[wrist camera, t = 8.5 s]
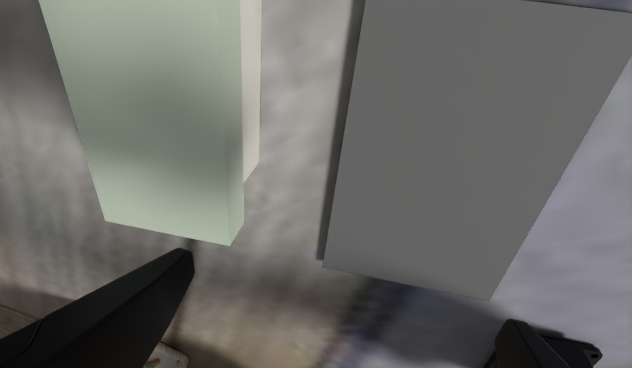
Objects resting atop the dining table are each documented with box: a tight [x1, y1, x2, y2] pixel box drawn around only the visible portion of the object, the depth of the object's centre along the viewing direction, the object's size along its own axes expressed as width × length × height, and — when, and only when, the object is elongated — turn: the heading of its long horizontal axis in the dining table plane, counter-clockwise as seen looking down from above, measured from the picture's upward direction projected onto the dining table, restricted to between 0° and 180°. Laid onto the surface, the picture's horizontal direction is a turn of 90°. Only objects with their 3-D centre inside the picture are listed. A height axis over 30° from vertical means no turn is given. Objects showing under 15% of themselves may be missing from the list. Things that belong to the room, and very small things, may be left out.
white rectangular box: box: [240, 0, 262, 182], centre depth 16 cm, size 11×6×4 cm, turn 174°
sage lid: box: [39, 0, 244, 246], centre depth 13 cm, size 14×7×2 cm, turn 174°
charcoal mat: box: [322, 0, 632, 301], centre depth 19 cm, size 18×12×1 cm, turn 174°
